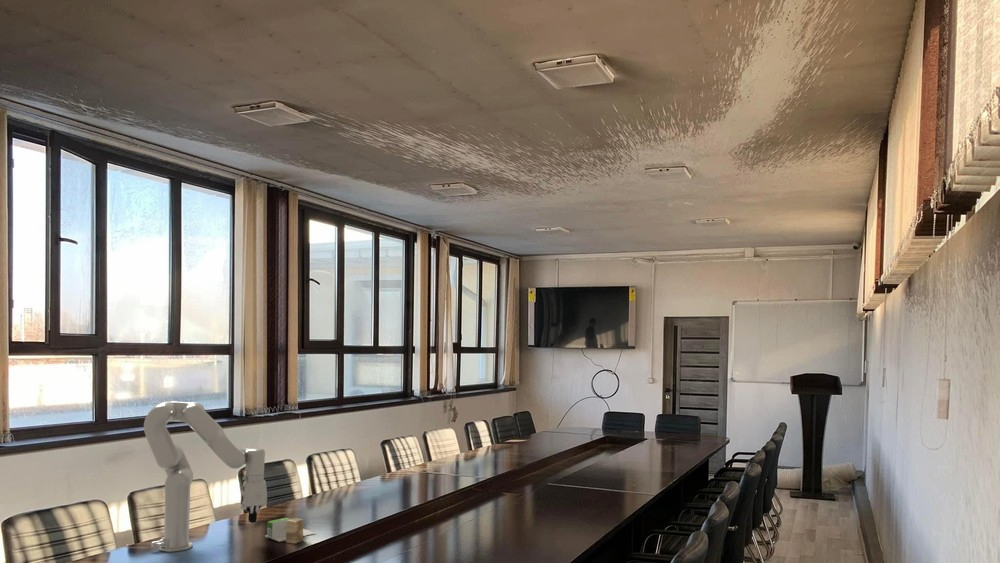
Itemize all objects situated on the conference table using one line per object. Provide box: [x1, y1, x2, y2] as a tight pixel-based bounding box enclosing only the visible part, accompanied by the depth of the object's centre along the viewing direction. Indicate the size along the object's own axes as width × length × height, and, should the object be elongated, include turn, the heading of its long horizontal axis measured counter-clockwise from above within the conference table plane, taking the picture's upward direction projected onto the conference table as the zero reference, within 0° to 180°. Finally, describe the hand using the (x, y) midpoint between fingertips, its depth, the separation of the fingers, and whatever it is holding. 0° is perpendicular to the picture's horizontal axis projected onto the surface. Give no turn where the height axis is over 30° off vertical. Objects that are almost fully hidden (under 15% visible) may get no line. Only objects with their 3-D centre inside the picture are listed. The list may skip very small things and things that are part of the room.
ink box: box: [266, 517, 291, 540], centre depth 327 cm, size 7×4×13 cm
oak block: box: [285, 517, 304, 544], centre depth 320 cm, size 5×5×9 cm
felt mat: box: [264, 528, 316, 543], centre depth 329 cm, size 18×12×1 cm, turn 135°
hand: (252, 522), depth 317 cm, fingers closed
